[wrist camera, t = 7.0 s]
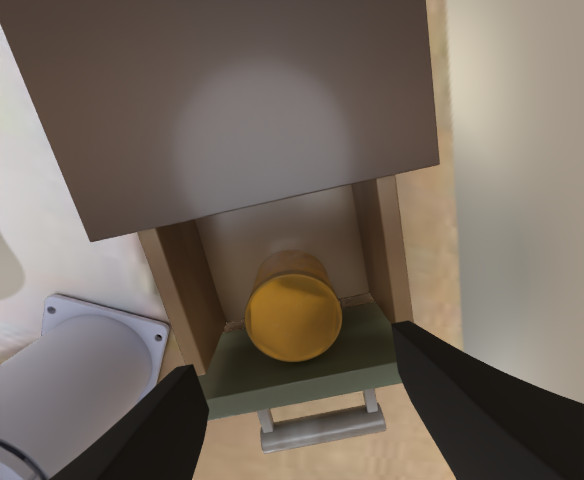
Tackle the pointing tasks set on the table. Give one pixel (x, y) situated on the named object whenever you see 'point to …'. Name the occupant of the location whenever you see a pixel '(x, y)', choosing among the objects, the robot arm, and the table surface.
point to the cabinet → (222, 100)
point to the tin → (293, 308)
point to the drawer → (237, 289)
